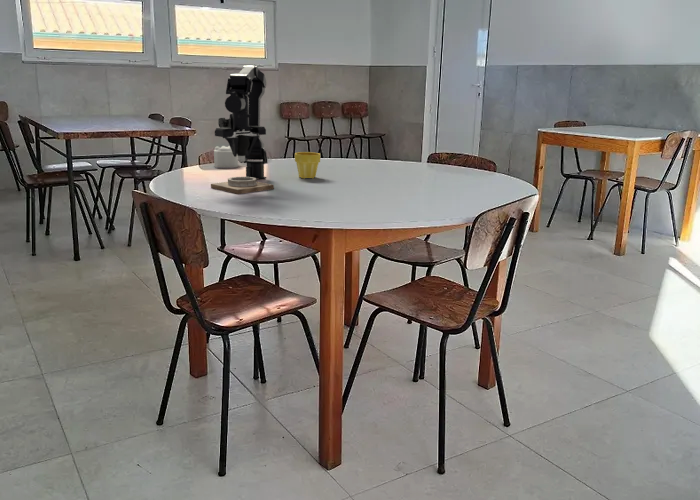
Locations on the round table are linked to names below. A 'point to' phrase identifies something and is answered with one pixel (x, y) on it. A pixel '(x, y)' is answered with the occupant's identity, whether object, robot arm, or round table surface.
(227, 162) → the lumpy-topped squat cylinder
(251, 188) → the socket base
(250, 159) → the robot arm
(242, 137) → the light bulb
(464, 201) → the round table surface
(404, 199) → the round table surface
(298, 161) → the plant pot
